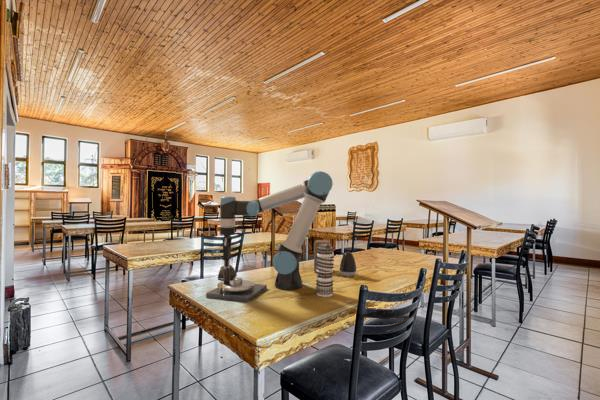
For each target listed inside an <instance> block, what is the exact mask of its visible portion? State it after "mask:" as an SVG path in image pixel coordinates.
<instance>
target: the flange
mask: <svg viewBox="0 0 600 400" xmlns="http://www.w3.org/2000/svg"><path fill="white" fill-rule="evenodd" d="M222 279H223V281H222V282H223V290H224V291H228V292H243V291H248V290H251V289H253V288H254V284H255V283H254V282H253V281H250V280H244V279H243V278H242V277H235V278H234V279H233V280H230V268H224V271H223V278H222ZM218 287H219V282H217V287H216V288H218Z"/></svg>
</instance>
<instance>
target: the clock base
mask: <svg viewBox="0 0 600 400" xmlns="http://www.w3.org/2000/svg"><path fill="white" fill-rule="evenodd" d="M218 283H219V287H216V288H214V289H211V290H210V291H208V292H206V293H205V298H207V299H208V298H209V299H218V300H225V301H233V302H234V301H235V302H241V303H249V302H250V301H251V300H253V299H254V298H256V297H257V296H259V295H260V294H261V293H263V292H264V291H266V290H267V289H268V285H267V284H260V283H254V288H253V289H251V290H248V291H243V292H228V291H224V290H223V281H218Z"/></svg>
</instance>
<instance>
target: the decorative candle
mask: <svg viewBox="0 0 600 400" xmlns="http://www.w3.org/2000/svg"><path fill="white" fill-rule="evenodd" d="M317 248H318V250H317V251H318V253H317V255H316V258H317V259H316V265H317V266H316V269H317V270H316V271H317V272H316V273H317V274H316V283H315V284H316V286H315V287H316V288H315V289H316V290H315V291H316V294H317V295H316V296H317V297H321V296H322V297H321V298H328V297H329V298H330V297H332V296H333V295H334V287H333V286H334V279H333V278H334V277H333V272H334V270H333V269H335V268H334V266H335V264H334V263H333V262H334V261H335V259H334V258H335V256H334V255H333V248H334V247H333V246H332V245H331V243H330V244H319V246H318V247H317ZM317 256H318V257H317ZM317 263H318V264H317Z"/></svg>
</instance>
